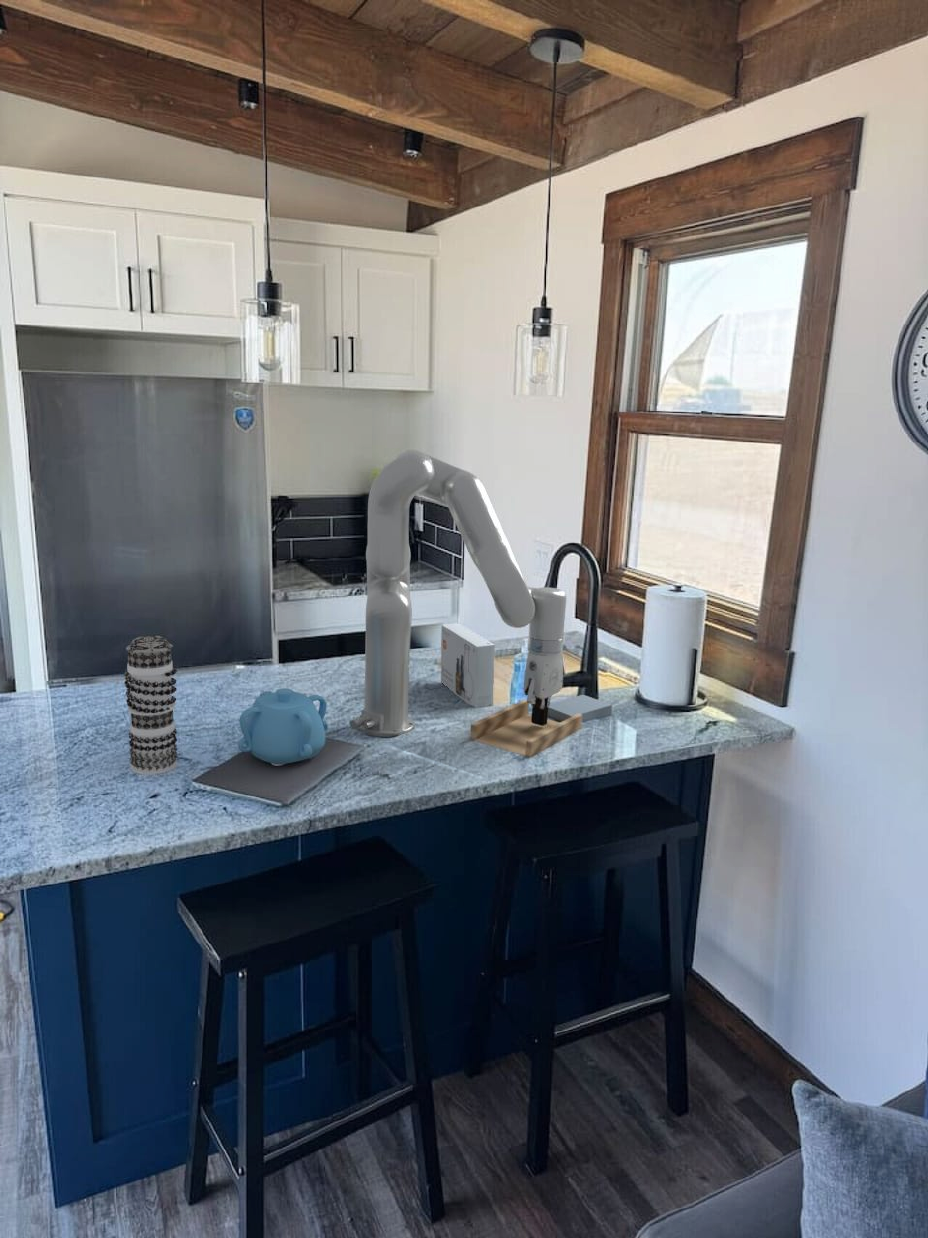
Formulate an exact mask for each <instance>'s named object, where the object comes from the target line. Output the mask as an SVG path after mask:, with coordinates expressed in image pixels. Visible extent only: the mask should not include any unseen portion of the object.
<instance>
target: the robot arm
mask: <svg viewBox="0 0 928 1238" xmlns="http://www.w3.org/2000/svg"><path fill="white" fill-rule="evenodd" d="M417 495H422V496H424V497H425V498H428V499H431V500H433V501H436V502H438V503H440V504H443V505H446V506H447V507H448V509H449V512H450V515H451V516H452V518H453V521H454V523H455V525H456V526H457V530H458V531H459V534H460V535H461V538H462V540H463V543H464V544H465V545H464V546H465V547H466V549H467V552H468V554H469V556H470V558H471V560H472V562H473V564H474V565H475V566H476V568H477V569H478V571H479V572H480V575H481V576H482V579H483V580H484V582H485V585H486V587H487V589H488V591H489V593H490V595H491V597H492V599H493V601H494V606H495V609H496V612H497V613H498V615H499V616H500V619H501V620H502V622H503V623H504V624H505V625H507V626H508V627H510V628H514V629H516V628H517V629H518V628H519V629H520V628H524V627H526V626H528V625H529V626H528V640H527V651H528V652H527V657H526V663H525V669H524V677H523V693H524V694H523V695H525V696H526V700H527V703H529V705H530V704H531V705H530V706H531V707H532V708H531V715H532V718H531V722H532V723H534V724H537V725H541V726H544V725H545V724H547V719H549V718H548V717H549V716H548V707H549V705H550V703H551V699H552V696H554V695H555V694H557V693H559V692H561V691H562V689H563V680H564V656H563V655H564V654H563V644H564V633H565V632H564V631H565V619H566V618H565V617H566V608H567V595H566V593H565V591H564V590H562V589H560V588H556V587H548V586H547V587H538V588H537V587H530V586H527V583H526V581H525V579H524V577H523V574H522V572H521V569H520V567H519V565H518V563H517V561H516V559H515V556H514V554H513V550H512V548H511V545H510V543H509V541H508V538H507V536H506V534H505V532H504V530H503V527H502V524H501V523H500V520H499V518H498V515H497V514H496V512H495V509H494V507H493V504H492V503H491V500H490V498H489V495H488V493H487V491H486V489H485V486H484V484H483V483H482V481H481V479H480V478H479V477H477V476H476V475H474V473H471V472H469V471H467V470H464V469H461V468H459V467H456V466H454V465H452V464H449V463H448V462H445V461H442V460H440V459H438V458H436V457H433V456H431V455H429V454H427V453H425V452H423V451H420V450H417V449H416V450H414V449H409V450H405V451H403V452H401V453H400V454H399V455H398V456H397V457H396V458H395V459H394V460H392V461H391V462H389V463H387V465H385V466H384V467H383V468H382V469H381V470H380V472H379V473H378V474H377V475H376V477H375V478H374V480H373V482H372V484H371V487H370V490H369V494H368V500H367V501H368V503H367V545H366V550H365V561H366V587H367V590H366V592H367V593H366V596H367V597H366V598H367V599H366V606H365V650H364V651H365V652H364V653H365V656H364V658H365V659H364V660H365V663H364V665H365V667H364V668H365V669H364V708H363V709H361V715H359V716H358V717H355V718H353V719H351V720H349V726H350V728H351V729H353V730H354V729H357V730H359V731H360V732H361V733H364V734H365V735H369V736H374V737H381V738H390V737H398V736H401V735H404V734H405V735H406V734H408V733H409V732H411V731H413V730H414V729H415V721H414V719H413V718H412V717H410V716H408V715H409V693H410V691H409V688H410V687H409V686H410V661H411V660H410V659H411V656H410V650H411V634H412V633H411V632H412V623H413V622H412V620H413V616H412V615H413V608H412V600H411V586H410V584H411V583H410V581H411V579H410V578H411V576H410V575H411V574H410V572H411V568H410V567H411V566H410V564H411V563H410V562H411V557H412V555H411V548H410V543H409V542H410V540H409V538H410V537H409V536H410V535H409V524H410V523H409V522H410V506H411V502H412V500H413V499H414V497H415V496H417Z"/></svg>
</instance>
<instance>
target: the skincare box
mask: <svg viewBox="0 0 928 1238" xmlns="http://www.w3.org/2000/svg"><path fill="white" fill-rule="evenodd" d="M440 631H441V634H440V635H441V636H440V642H441V643H440V646H441V647H440V649H441V650H440V684H442V683H443V684H444V685H445V687H446V686H447V687H448V688H449V689H450V690H449V689H448V688H447V687H446V688H447V689H448V690H449V691H451V692H452V691H453V692H454V693H453V692H452V693H453V694H455V696H457V697H458V696H459V699H461V700H462V701H463V700H464V701H463V702H465V703H466V704H467V703H468V704H467V705H468V706H472V707H474V708H483V707H484V708H485V707H492V706H494V684H495V680H494V679H495V647H496V646H495V644H494V643H492V642H491V641H490V640H488V639H486V638H485V637H482V636H481V635H479V634H478V633H476V632H474V631H473V630H471V629H469V628H467V627H466V626H464V625H462V623H461V624H460V623H459V622H454V623H446V624H445V623H444V624H441V630H440ZM443 684H442V685H443ZM444 685H443V686H444Z"/></svg>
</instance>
